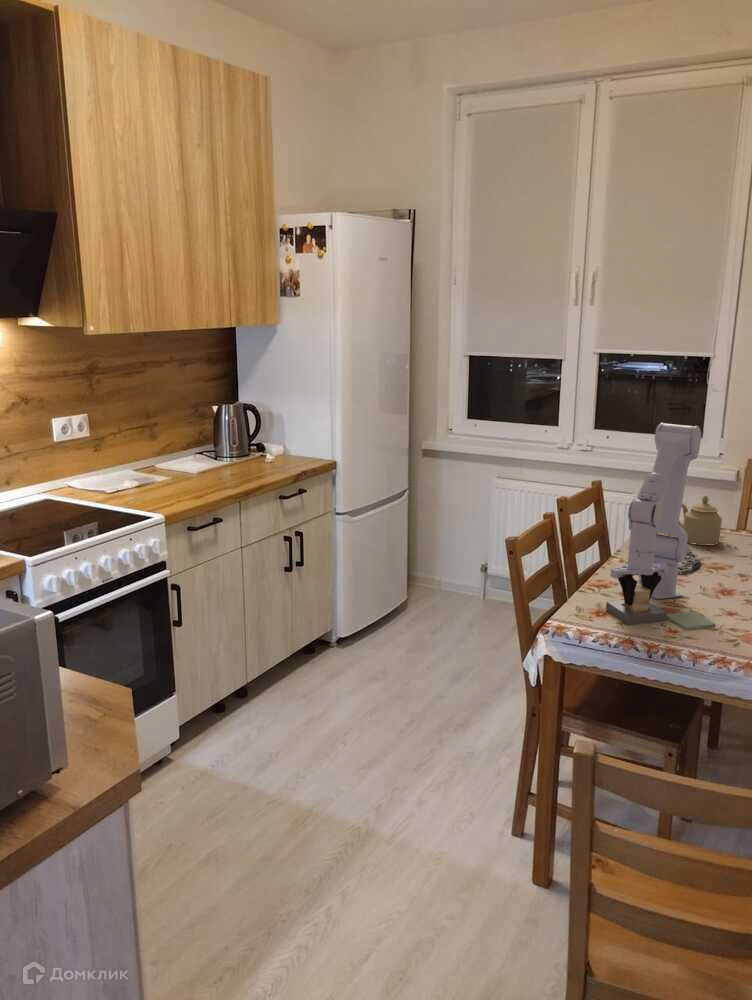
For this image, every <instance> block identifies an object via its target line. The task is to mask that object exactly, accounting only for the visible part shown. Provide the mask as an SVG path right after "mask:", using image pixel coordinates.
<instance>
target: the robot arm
mask: <svg viewBox="0 0 752 1000" xmlns="http://www.w3.org/2000/svg"><path fill="white" fill-rule="evenodd" d="M701 442H702V431H701V428H700V426H699V425H695V426H693V425H686V424H685V425H684V424H673V423H665V422H660V423H659V424H658V425H657V426H656V429H655V434H654V443H655V448H656V451H657V454H656V457H655V461H654V465H653V468H652V471H651V473H648V474H647V475H646V476H645V477H644V480H643V482H642V485H641V487H640V489H639V491H638V494H637V497H636V499H634V500H632V501H631V502H630V503H629V506H628V512H627V520H628V530H629V531H630V533H629V545H628V555H627V564H624V565H620V566H618V567H613V568H610V577H611V578H614V579H615V580H618V582H619V585H620V587H621V590H622V593H623V595H622V596H623V600H624V601H625V603H626V604H627V605H629V606H632V603H633V596H634V591H635V587H636V585H638V584H641V585H643V586H644V587H646V588H648V589H650V598H649V602H650V600H651V598H654V599H656V600H663V599H671V598H679V597H683V596H684V595H683V593H681V592H679V591H677V589H676V588H677V581H678V575H677V573H678V571H679V570H678V566H679V564H681V563H682V561H684V560H686V559H685V557H686V554H687V549H689V548H688V544H689V543H687V541H688V534H687V533H686V531H685V530H684V529H683V528H682V527H681V526H680V525H679V524H678V523H679V521H680V515H681V510H682V507H681V505H682V503H683V501H684V500H683V498H684V493H685V487H686V482H687V477H688V470H689V467H690V463H691V461H694V460H697V459H698V455H700V453H699V452H700V449H701V448H700V447H701ZM659 533H660V534H659ZM664 534H665V535H664ZM634 576H638V580H637V579H635V577H634Z"/></svg>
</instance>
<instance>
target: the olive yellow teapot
mask: <svg viewBox="0 0 752 1000" xmlns="http://www.w3.org/2000/svg"><path fill="white" fill-rule="evenodd" d="M701 501H702V502H697V503H694V504H693V505H691V506H690V507H689V508H690V510H689V509H688V507H687V505H686V503H683V502H682V505H681V509H682V513H683V522H681V521H680V520H679V523H678V524H679V525H680V526H681V527H682V528H683V529H684V530H685V531H686V533H687V534H688V542H691V543H696V544H716V543H718V542H720V536H721V531H722V530H721V529H722V521H723V517H722V516H721V515H720V514H718V511H719V508H717V507H716V506H715V505H714V504H711V503H708V502H709V498H708V496H707V495H706V494H705V495H703V496H702V499H701ZM682 523H683V524H682ZM718 544H719V543H718Z"/></svg>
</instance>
